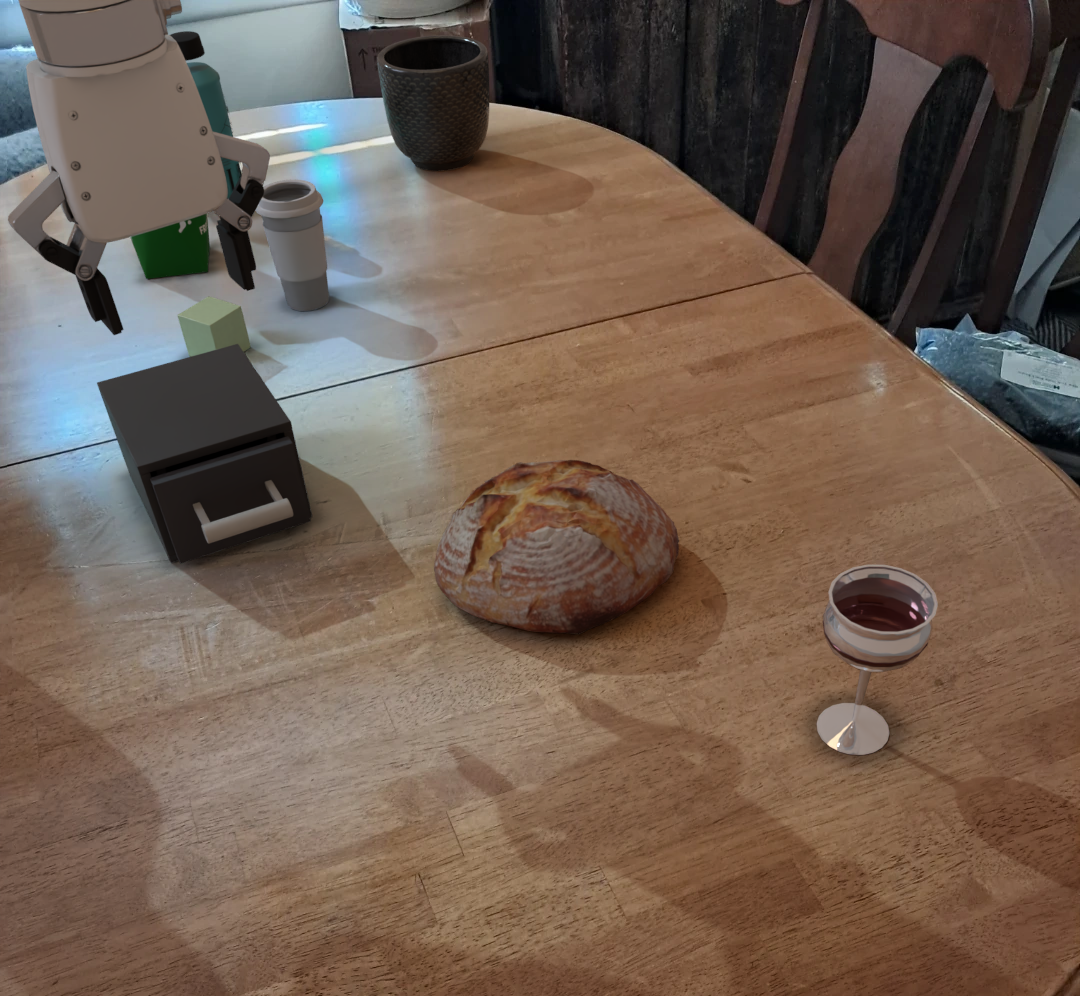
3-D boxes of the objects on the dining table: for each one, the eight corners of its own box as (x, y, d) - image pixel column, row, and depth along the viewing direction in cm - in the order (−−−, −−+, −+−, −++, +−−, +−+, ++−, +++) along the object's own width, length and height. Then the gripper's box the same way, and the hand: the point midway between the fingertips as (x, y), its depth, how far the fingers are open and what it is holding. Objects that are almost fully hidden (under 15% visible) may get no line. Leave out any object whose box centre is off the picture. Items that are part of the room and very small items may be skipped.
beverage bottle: (226, 227, 142) (182, 47, 127) (187, 216, 144) (140, 39, 130) (262, 207, 145) (223, 29, 131) (223, 197, 148) (182, 22, 133)
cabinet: (312, 517, 100) (290, 421, 93) (171, 563, 97) (136, 467, 90) (261, 436, 109) (237, 343, 102) (130, 476, 106) (96, 382, 99)
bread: (411, 563, 97) (392, 458, 90) (619, 496, 102) (616, 392, 95) (486, 675, 86) (470, 566, 79) (715, 594, 91) (719, 485, 84)
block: (188, 356, 120) (176, 314, 117) (219, 336, 123) (208, 295, 120) (220, 367, 118) (209, 325, 115) (251, 347, 121) (241, 305, 118)
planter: (516, 156, 153) (510, 48, 144) (440, 190, 147) (428, 79, 137) (444, 131, 160) (435, 27, 151) (368, 163, 153) (353, 56, 144)
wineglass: (903, 700, 82) (938, 570, 73) (901, 771, 78) (939, 641, 69) (807, 688, 83) (830, 558, 75) (800, 757, 79) (824, 627, 70)
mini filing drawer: (330, 551, 95) (312, 472, 90) (195, 596, 92) (168, 517, 86) (262, 444, 107) (243, 368, 101) (141, 481, 103) (113, 404, 98)
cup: (277, 319, 125) (252, 208, 116) (274, 291, 129) (250, 182, 121) (343, 310, 126) (323, 199, 117) (337, 283, 130) (318, 174, 121)
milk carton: (143, 250, 138) (88, 68, 124) (219, 242, 139) (173, 59, 124) (137, 284, 132) (79, 96, 118) (217, 275, 133) (168, 87, 118)
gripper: (209, -16, 73) (269, 249, 85) (-68, 47, 67) (40, 323, 79) (257, 10, 68) (314, 286, 81) (-35, 81, 62) (75, 367, 75)
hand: (178, 304), depth 80 cm, fingers open, 9 cm apart
